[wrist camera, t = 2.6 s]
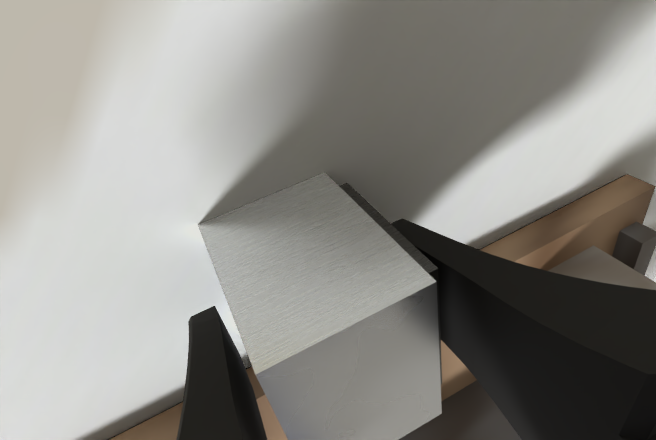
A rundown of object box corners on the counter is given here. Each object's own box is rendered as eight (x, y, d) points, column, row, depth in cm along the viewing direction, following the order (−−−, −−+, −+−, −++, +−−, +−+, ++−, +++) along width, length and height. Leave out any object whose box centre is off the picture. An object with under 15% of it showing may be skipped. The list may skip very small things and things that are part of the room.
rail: (627, 174, 19) (811, 253, 14) (591, 298, 23) (719, 388, 19) (42, 474, 13) (15, 789, 8) (156, 556, 18) (182, 782, 13)
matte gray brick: (360, 285, 15) (454, 405, 11) (251, 339, 14) (313, 491, 10) (336, 166, 12) (454, 272, 8) (197, 223, 11) (255, 375, 7)
